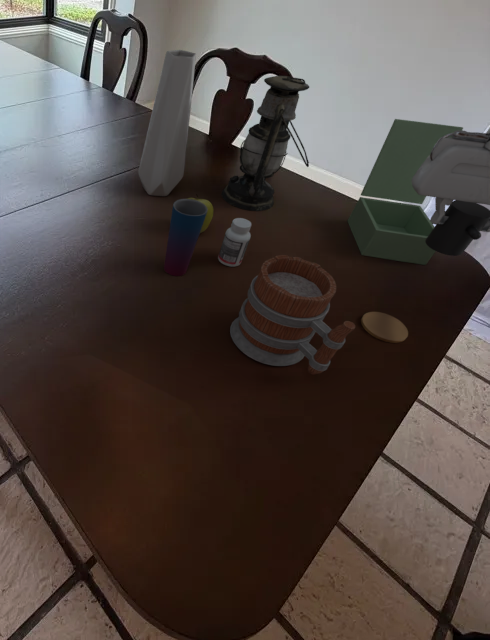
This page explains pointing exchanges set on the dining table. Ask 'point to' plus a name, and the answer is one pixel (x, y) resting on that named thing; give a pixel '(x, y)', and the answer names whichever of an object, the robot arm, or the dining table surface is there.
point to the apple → (208, 215)
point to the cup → (183, 234)
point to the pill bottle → (235, 242)
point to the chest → (391, 230)
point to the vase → (168, 125)
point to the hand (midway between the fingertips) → (458, 226)
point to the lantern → (266, 146)
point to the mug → (289, 315)
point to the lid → (403, 160)
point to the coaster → (384, 327)
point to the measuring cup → (458, 228)
